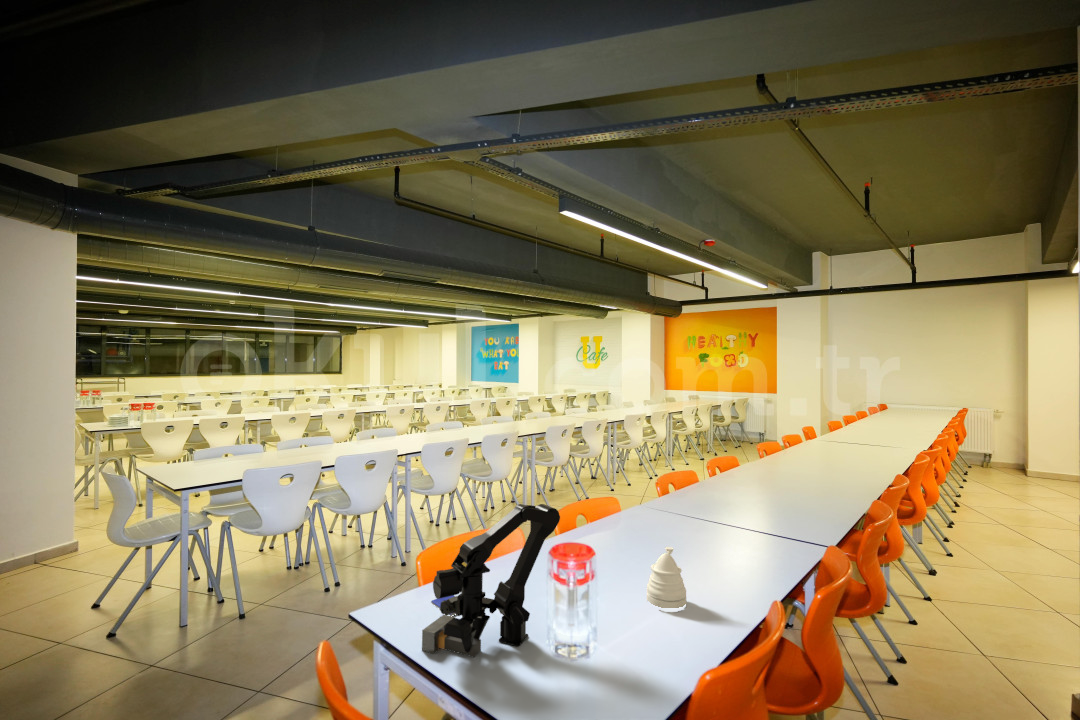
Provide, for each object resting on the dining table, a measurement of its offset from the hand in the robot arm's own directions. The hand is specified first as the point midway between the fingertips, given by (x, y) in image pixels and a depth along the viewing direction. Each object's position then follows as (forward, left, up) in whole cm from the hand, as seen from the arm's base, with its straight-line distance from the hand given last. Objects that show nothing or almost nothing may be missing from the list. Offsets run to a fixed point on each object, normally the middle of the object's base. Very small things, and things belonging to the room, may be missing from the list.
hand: (471, 648), depth 136 cm
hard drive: (+21, -21, -2) cm, 29 cm away
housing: (+11, 0, -1) cm, 11 cm away
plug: (+5, 0, -1) cm, 5 cm away
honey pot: (-43, -53, -1) cm, 69 cm away
